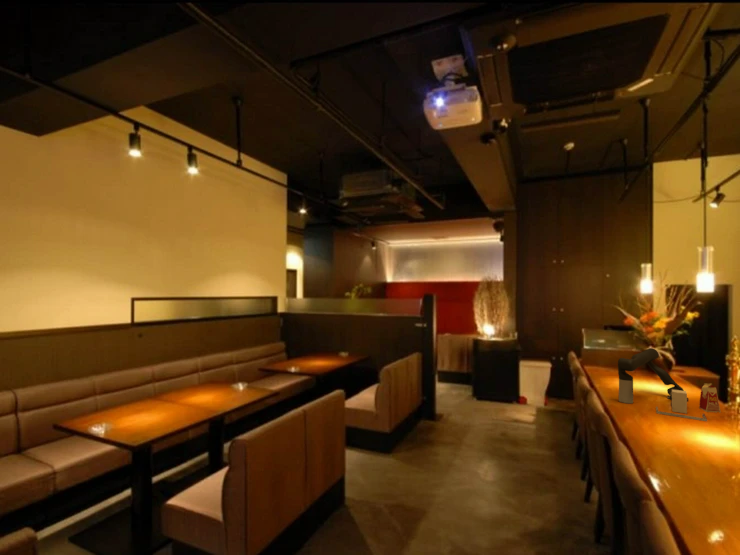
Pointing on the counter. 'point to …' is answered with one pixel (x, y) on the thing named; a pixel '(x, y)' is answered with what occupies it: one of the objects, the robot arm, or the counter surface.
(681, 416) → the metal staple
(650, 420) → the counter surface
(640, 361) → the robot arm
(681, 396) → the carton
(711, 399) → the milk carton
